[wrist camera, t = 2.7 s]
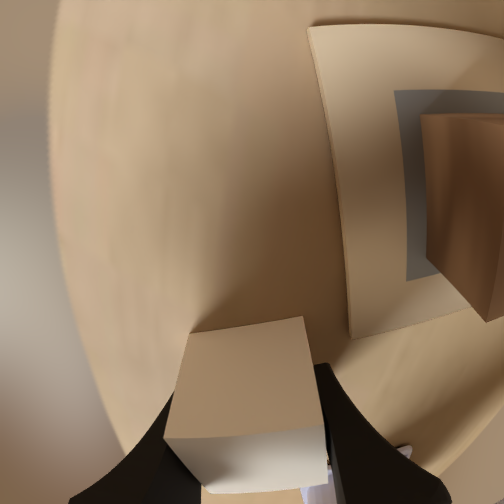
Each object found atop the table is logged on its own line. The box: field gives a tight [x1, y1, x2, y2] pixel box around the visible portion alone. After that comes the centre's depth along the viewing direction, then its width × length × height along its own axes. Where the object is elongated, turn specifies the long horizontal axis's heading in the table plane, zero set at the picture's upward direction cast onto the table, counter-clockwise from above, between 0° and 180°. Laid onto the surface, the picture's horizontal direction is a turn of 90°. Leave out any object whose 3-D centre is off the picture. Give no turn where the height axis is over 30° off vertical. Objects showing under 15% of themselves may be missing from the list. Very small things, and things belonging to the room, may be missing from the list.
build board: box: [306, 24, 504, 340], centre depth 9 cm, size 11×9×1 cm
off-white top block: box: [163, 316, 328, 494], centre depth 11 cm, size 4×4×5 cm
